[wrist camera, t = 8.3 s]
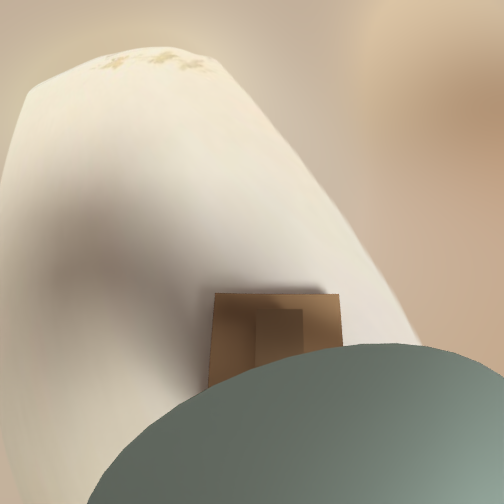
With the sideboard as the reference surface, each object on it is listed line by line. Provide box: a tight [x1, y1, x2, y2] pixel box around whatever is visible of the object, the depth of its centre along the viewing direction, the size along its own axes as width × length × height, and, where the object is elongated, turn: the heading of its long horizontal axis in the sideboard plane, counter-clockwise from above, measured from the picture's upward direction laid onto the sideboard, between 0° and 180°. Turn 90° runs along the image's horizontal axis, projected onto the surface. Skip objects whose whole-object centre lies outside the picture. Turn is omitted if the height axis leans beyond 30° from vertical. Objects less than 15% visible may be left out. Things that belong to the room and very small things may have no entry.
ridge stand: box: [208, 293, 343, 388], centre depth 15 cm, size 20×8×4 cm, turn 178°
